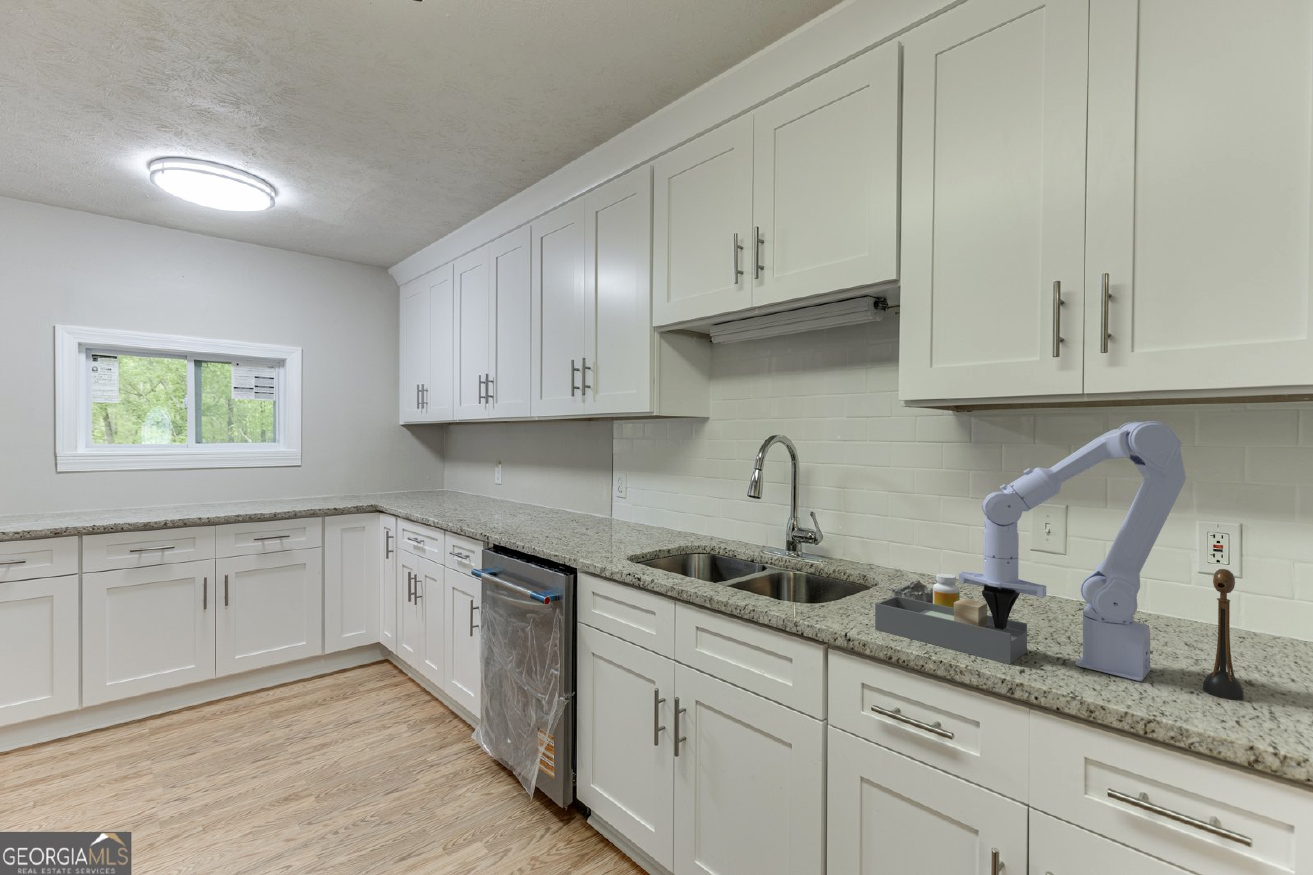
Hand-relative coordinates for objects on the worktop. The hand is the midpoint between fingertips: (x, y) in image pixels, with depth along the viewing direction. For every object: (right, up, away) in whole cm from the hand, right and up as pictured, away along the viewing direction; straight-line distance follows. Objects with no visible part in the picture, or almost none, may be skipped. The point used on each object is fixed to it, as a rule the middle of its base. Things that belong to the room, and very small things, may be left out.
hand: (1000, 627), depth 114 cm
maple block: (-4, -1, +4) cm, 5 cm away
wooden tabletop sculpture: (+25, -5, -18) cm, 31 cm away
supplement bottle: (0, -5, +21) cm, 22 cm away
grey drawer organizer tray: (-7, -5, +7) cm, 11 cm away
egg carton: (-1, -5, +36) cm, 36 cm away
